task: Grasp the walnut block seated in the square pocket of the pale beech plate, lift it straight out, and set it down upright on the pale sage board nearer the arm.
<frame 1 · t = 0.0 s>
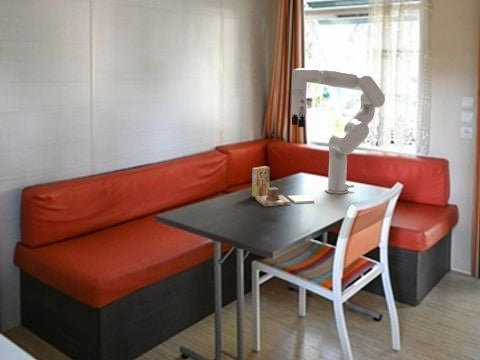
hand: (297, 125, 284), 37 cm above the table, tool pointing down, fingers open, 9 cm apart
candy box: (260, 196, 288), on the table
pocket plate: (272, 201, 276), on the table
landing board: (300, 200, 280), on the table
walnut block: (273, 195, 275), in the pocket plate
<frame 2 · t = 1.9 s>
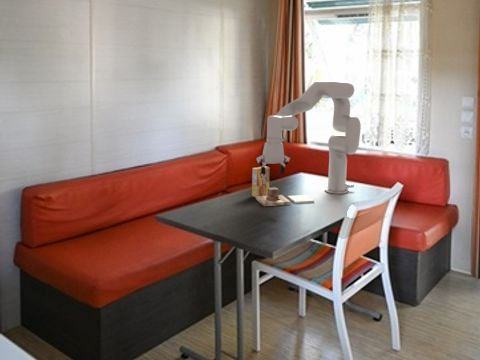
hand: (272, 174, 272), 14 cm above the table, tool pointing down, fingers open, 9 cm apart
nothing on the table moved.
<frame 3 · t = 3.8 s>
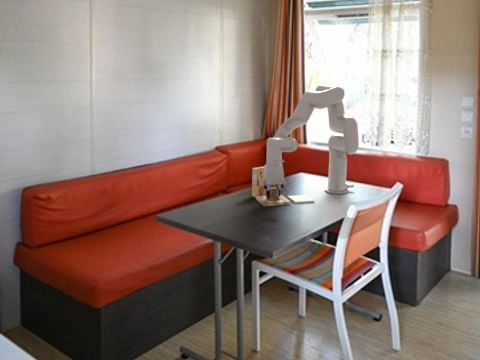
hand: (273, 197, 275), 2 cm above the table, tool pointing down, fingers closed on walnut block, 4 cm apart
walnut block: (273, 195, 275), in the pocket plate, touching gripper
everything else where it was.
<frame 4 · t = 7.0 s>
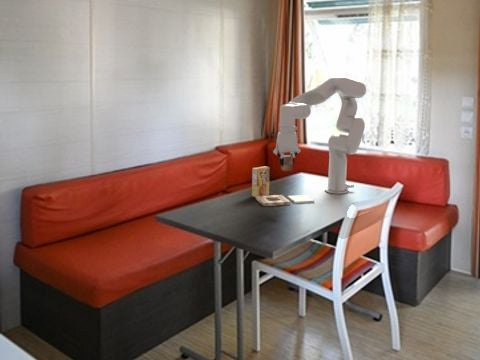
hand: (286, 165, 274), 19 cm above the table, tool pointing down, fingers closed on walnut block, 4 cm apart
walnut block: (286, 163, 273), point 20 cm above the table, touching gripper
everything else where it was.
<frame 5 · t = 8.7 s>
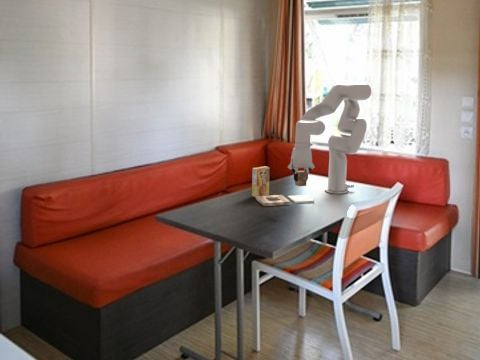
hand: (300, 180, 277), 10 cm above the table, tool pointing down, fingers closed on walnut block, 4 cm apart
walnut block: (300, 178, 277), point 12 cm above the table, touching gripper
everything else where it was.
when the fingers open (5 cm above the table, at t = 10.0 s): walnut block drops 1 cm, resting on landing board.
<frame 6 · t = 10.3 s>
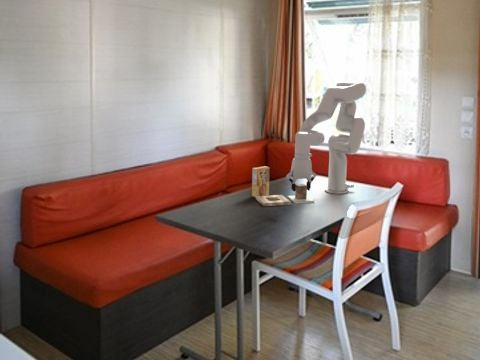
hand: (300, 190, 279), 5 cm above the table, tool pointing down, fingers open, 7 cm apart
walnut block: (301, 191, 279), on the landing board, point 4 cm above the table
everything else where it was.
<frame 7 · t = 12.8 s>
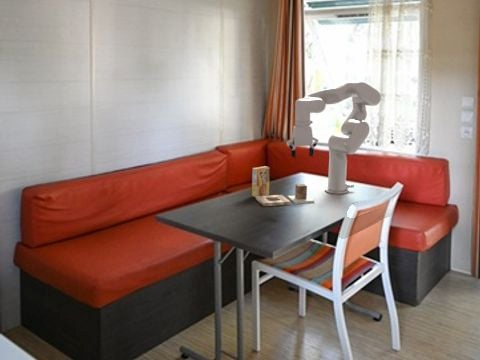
hand: (302, 156, 279), 22 cm above the table, tool pointing down, fingers open, 9 cm apart
nothing on the table moved.
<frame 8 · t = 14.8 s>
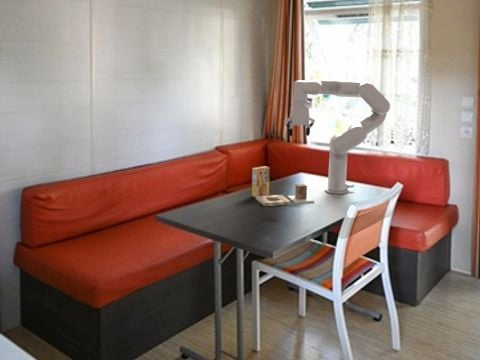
hand: (299, 135, 294), 30 cm above the table, tool pointing down, fingers open, 9 cm apart
nothing on the table moved.
at the end: walnut block inside the target area on the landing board (0.1 cm from its centre), point 4.5 cm above the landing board's base; walnut block tilted 0°; the gripper is holding nothing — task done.
